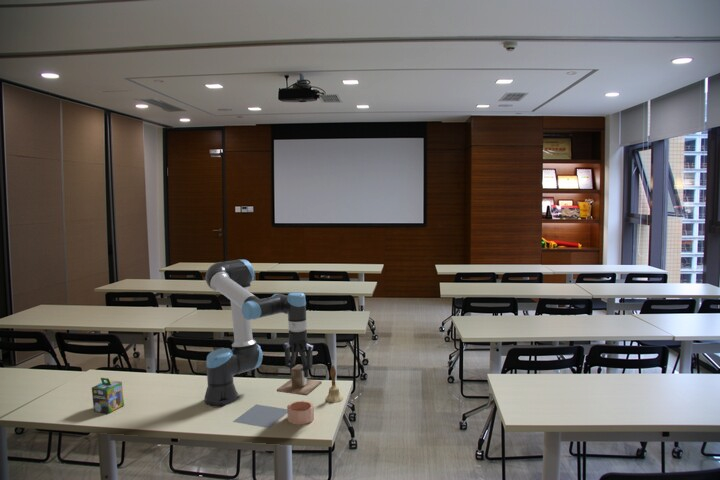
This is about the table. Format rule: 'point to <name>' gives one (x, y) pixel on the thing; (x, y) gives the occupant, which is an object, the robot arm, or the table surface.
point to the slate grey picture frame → (261, 416)
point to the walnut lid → (298, 383)
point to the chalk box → (107, 396)
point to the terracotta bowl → (300, 412)
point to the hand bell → (333, 389)
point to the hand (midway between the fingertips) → (299, 383)
